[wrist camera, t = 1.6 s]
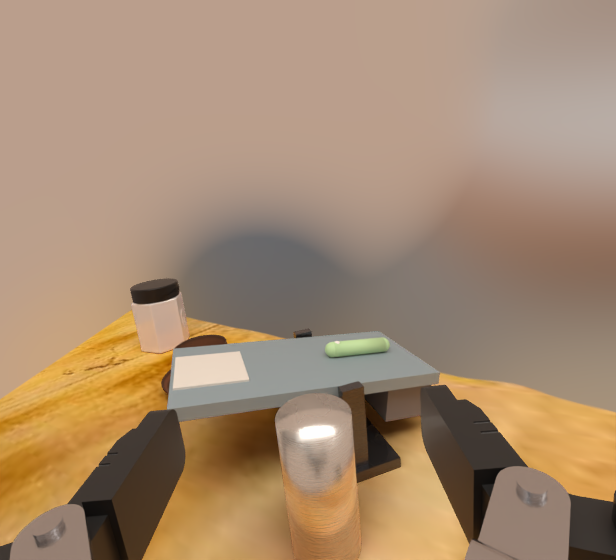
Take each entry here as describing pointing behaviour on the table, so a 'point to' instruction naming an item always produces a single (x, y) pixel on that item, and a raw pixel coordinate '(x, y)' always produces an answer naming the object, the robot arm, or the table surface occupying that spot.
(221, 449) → the table surface
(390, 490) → the table surface
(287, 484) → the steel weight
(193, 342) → the cup and saucer
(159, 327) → the jar
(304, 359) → the platform
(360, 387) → the pivot stand
